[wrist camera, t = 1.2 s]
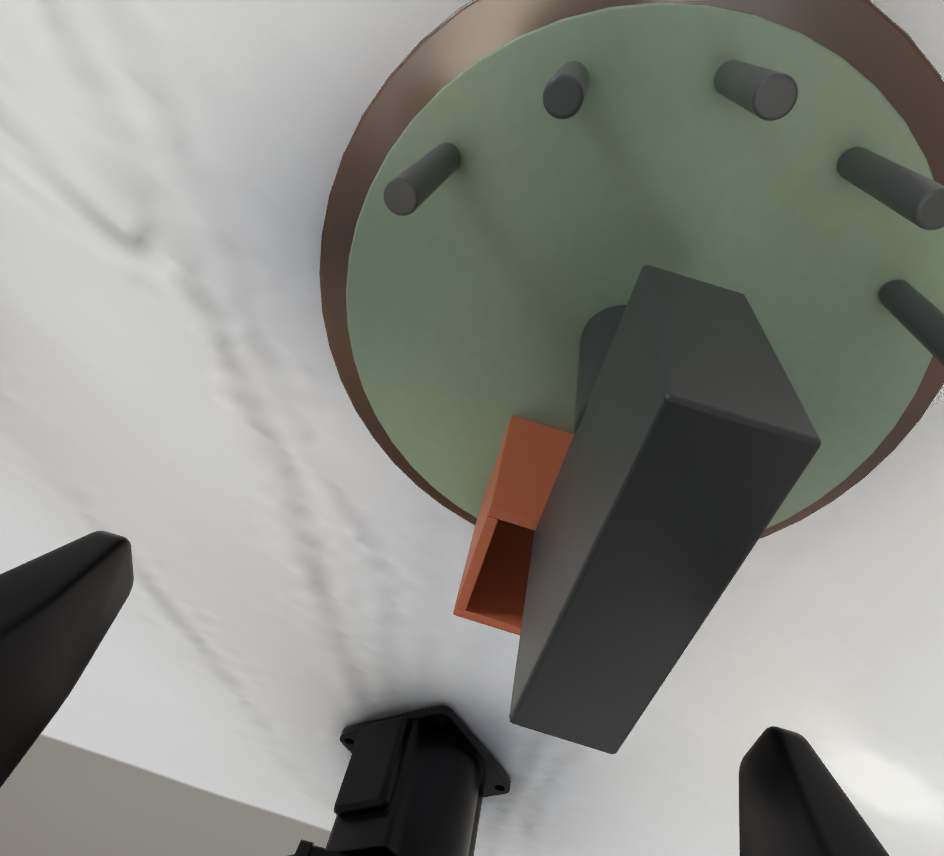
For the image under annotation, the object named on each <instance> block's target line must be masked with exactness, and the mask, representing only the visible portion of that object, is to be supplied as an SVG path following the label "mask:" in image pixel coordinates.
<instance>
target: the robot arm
mask: <svg viewBox="0 0 944 856" xmlns="http://www.w3.org/2000/svg"><path fill="white" fill-rule="evenodd" d="M133 579H134V576H133V565H132V553H131V544H130V542H129V540H128V539H127V538H125V537H123V536H119V535H116V534H112V533H109V532H105V531H97V532H93V533H90V534H88V535H86V536H84V537H82V538H79V539H77V540H75V541H73V542H71V543H68V544H66V545H64V546H62V547H60V548H58V549H55V550H53V551H51V552H49V553H47V554H44V555H42V556H40V557H38V558H36V559H33V560H31V561H29V562H27V563H25V564H22V565H20V566H18V567H16V568H14V569H11V570H9V571H7V572H5V573H3V574H0V788H1V786H2V785H3V784H4V782H5V781H6V779H7V778H8V777H9V775H10V774H11V773H12V771H13V770H14V769H15V767H16V766H17V765H18V763H19V762H20V761H21V759H22V758H23V756H24V755H25V754H26V753H27V751H28V750H29V749H30V747H31V746H32V745H33V743H34V742H35V741H36V739H37V738H38V736H39V735H40V734H41V732H42V731H43V730H44V728H45V727H46V726H47V724H48V723H49V722H50V720H51V719H52V718H53V716H54V715H55V714H56V712H57V711H58V710H59V708H60V707H61V705H62V704H63V702H64V701H65V700H66V698H67V697H68V695H69V694H70V692H71V691H72V689H73V688H74V686H75V684H76V683H77V681H78V680H79V678H80V676H81V675H82V673H83V671H84V670H85V668H86V666H87V665H88V663H89V661H90V660H91V658H92V656H93V655H94V653H95V651H96V650H97V648H98V646H99V644H100V643H101V641H102V639H103V638H104V636H105V634H106V633H107V631H108V629H109V628H110V626H111V624H112V623H113V621H114V619H115V618H116V616H117V614H118V613H119V611H120V609H121V608H122V606H123V604H124V603H125V601H126V599H127V598H128V596H129V594H130V591H131V589H132V586H133ZM340 741H341V743H342V744H343V745H344V746H345V747H346V748H347V749H348V750H349V751H350V752H351V753H352V756H351V759H350V762H349V765H348V768H347V771H346V774H345V777H344V779H343V782H342V785H341V788H340V791H339V794H338V797H337V800H336V803H335V806H334V812H335V813H336V814H337V816H336V819H335V822H334V825H333V828H332V831H331V834H330V837H329V840H328V843H327V846H326V849H325V848H322V847H318V846H314V843H313V842H309V841H306V840H301V842H300V844H299V846H298V849H297V851H296V853H295V854H294V855H290V856H474V850H475V843H476V837H477V830H478V824H479V818H480V811H481V805H482V798H483V797H489V796H494V795H500V794H505V793H508V792H509V791H510V783H511V780H510V779H509V777H508V776H507V775H506V774H505V773H504V771H503V770H502V769H501V768H500V767H499V765H498V764H497V763H496V762H495V761H494V759H493V758H492V757H491V756H490V755H489V753H488V752H487V751H486V750H485V749H484V747H483V746H482V745H481V744H480V743H479V741H478V740H477V739H476V738H475V737H474V736H473V734H472V733H471V732H470V731H469V730H468V728H467V727H466V726H465V725H464V724H463V722H462V721H461V720H460V719H459V718H458V716H457V715H456V714H455V713H454V712H453V710H452V709H450V708H449V707H447V706H443V705H439V706H434V707H430V708H426V709H422V710H417V711H413V712H409V713H405V714H401V715H397V716H393V717H388V718H384V719H380V720H376V721H372V722H368V723H363V724H359V725H355V726H351V727H347V728H344V729H343V731H342V733H341V736H340ZM739 830H740V856H889V854H888V853H887V852H886V850H885V849H884V847H883V846H882V845H881V843H880V842H879V840H878V839H877V838H876V836H875V835H874V833H873V832H872V831H871V829H870V828H869V826H868V825H867V824H866V822H865V821H864V820H863V818H862V817H861V815H860V814H859V813H858V811H857V810H856V808H855V807H854V806H853V804H852V803H851V801H850V800H849V799H848V797H847V796H846V794H845V793H844V792H843V790H842V789H841V787H840V786H839V785H838V783H837V782H836V780H835V779H834V778H833V776H832V775H831V773H830V772H829V771H828V769H827V768H826V766H825V765H824V764H823V762H822V761H821V759H820V758H819V757H818V755H817V754H816V752H815V751H814V750H813V748H812V747H811V745H810V744H809V743H808V741H807V740H806V739H805V738H804V737H803V736H802V735H800V734H798V733H796V732H792V731H789V730H786V729H782V728H779V727H774V726H772V727H769V728H767V729H766V730H765V731H764V732H763V733H762V735H761V736H760V737H759V738H758V740H757V741H756V742H755V743H754V745H753V746H752V747H751V748H750V750H749V751H748V752H747V753H746V754H745V756H744V757H743V759H742V762H741V765H740V769H739Z"/></svg>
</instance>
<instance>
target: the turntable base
mask: <svg viewBox="0 0 944 856" xmlns="http://www.w3.org/2000/svg"><path fill="white" fill-rule="evenodd" d="M648 3H676V4H694V5H709V6H714V7H718V8H723V9H728V10H732V11H737V12H742V13H746V14H751V15H756V16H758V17H761V18H764V19H766V20H769V21H771V22H774V23H776V24H779V25H781V26H784V27H787V28H789V29H792V30H794V31H797V32H799V33H802V34H803V35H805V36H807V37H808V38H810V39H812V40H813V41H815V42H817V43H818V44H820V45H822V46H823V47H825V48H827V49H828V50H830V51H832V52H834V53H835V54H837V55H839V56H840V57H842V58H843V59H844V60H845V61H846V62H848V63H849V64H850V65H851V66H852V67H853V68H855V69H856V70H857V71H858V72H859V73H861V74H862V75H863V76H864V77H865V78H866V79H868V80H869V81H870V82H871V83H872V84H873V85H875V86H876V87H877V88H878V90H879V91H880V92H881V93H882V94H883V96H884V97H885V98H886V99H887V100H888V102H889V103H890V104H891V105H892V107H893V108H894V109H895V110H896V111H897V113H898V114H899V115H900V116H901V117H902V119H903V120H904V121H905V122H906V124H907V126H908V128H909V130H910V131H911V133H912V135H913V137H914V138H915V140H916V142H917V144H918V145H919V147H920V149H921V151H922V152H923V154H924V156H925V158H926V159H927V162H928V165H929V168H930V170H931V173H932V176H933V179H934V181H935V182H937V183H939V184H941V185H943V186H944V82H943V80H942V78H941V76H940V74H939V73H938V72H937V71H936V69H935V68H934V67H933V65H932V64H931V63H930V62H929V60H928V59H927V58H926V57H925V55H924V54H923V53H922V52H921V50H920V49H919V48H918V47H917V45H916V44H915V43H914V41H913V40H912V39H911V38H910V36H909V35H908V34H907V33H906V32H905V31H904V30H902V29H901V28H900V27H899V26H898V25H897V24H896V23H894V22H893V21H892V20H891V19H890V18H889V17H888V16H887V15H885V14H884V13H883V12H882V11H881V10H880V9H879V8H877V7H876V6H875V5H874V4H873V3H872V2H871V1H870V0H472V1H471V2H469V3H467V4H466V5H464V6H463V7H461V8H459V9H458V10H457V11H456V12H455V13H453V14H452V15H451V16H450V17H449V18H448V19H446V20H445V21H444V22H443V23H442V24H440V25H439V26H438V27H437V28H436V29H434V30H433V31H432V32H431V33H430V34H428V35H427V36H426V37H425V38H424V39H422V40H421V41H420V42H419V44H418V45H417V46H416V47H415V48H414V49H413V50H412V51H411V52H410V54H409V55H408V56H407V57H406V58H405V59H404V60H403V61H402V62H401V64H400V65H399V66H398V67H397V68H396V69H395V70H394V71H393V72H392V74H391V75H390V76H389V77H388V78H387V80H386V81H385V83H384V84H383V86H382V87H381V89H380V90H379V92H378V93H377V95H376V96H375V98H374V99H373V100H372V102H371V103H370V105H369V106H368V108H367V109H366V111H365V112H364V114H363V115H362V117H361V119H360V121H359V123H358V125H357V127H356V129H355V131H354V133H353V135H352V138H351V140H350V142H349V144H348V146H347V148H346V150H345V152H344V154H343V156H342V159H341V162H340V165H339V168H338V171H337V174H336V177H335V180H334V183H333V186H332V189H331V192H330V195H329V200H328V205H327V210H326V215H325V221H324V226H323V231H322V240H321V257H320V286H321V300H322V312H323V317H324V322H325V327H326V331H327V336H328V341H329V346H330V349H331V352H332V355H333V358H334V361H335V364H336V367H337V370H338V373H339V376H340V379H341V381H342V383H343V385H344V387H345V389H346V391H347V393H348V395H349V398H350V400H351V402H352V404H353V406H354V408H355V410H356V411H357V413H358V415H359V416H360V418H361V419H362V421H363V422H364V424H365V426H366V427H367V429H368V430H369V432H370V433H371V435H372V436H373V438H374V439H375V440H376V442H377V443H378V444H379V445H380V447H381V448H382V449H383V450H384V451H385V453H386V454H387V455H388V456H389V458H390V459H391V460H392V461H393V462H394V464H395V465H396V466H398V467H399V468H400V469H401V470H402V471H403V472H404V473H405V474H406V475H407V476H408V477H409V478H410V479H411V480H412V481H413V482H414V483H415V484H416V485H417V486H418V487H420V488H421V489H422V490H423V491H425V492H426V493H427V494H429V495H430V496H431V497H432V498H434V499H435V500H436V501H438V502H439V503H440V504H441V505H443V506H444V507H446V508H447V509H449V510H451V511H452V512H454V513H456V514H457V515H459V516H460V517H462V518H464V519H465V520H467V521H468V522H470V523H472V524H474V525H476V521H477V518H476V517H474V516H473V515H471V514H469V513H468V512H466V511H464V510H463V509H461V508H460V507H458V506H456V505H455V504H454V503H453V502H451V501H450V500H449V499H448V498H446V497H445V496H444V495H442V494H441V493H440V492H439V491H437V490H436V489H435V488H433V487H432V486H431V485H430V484H429V483H428V482H427V481H426V480H425V479H424V478H423V477H422V476H421V475H420V474H419V473H418V472H417V471H416V470H415V469H414V468H413V467H412V466H411V465H410V463H409V462H408V461H407V460H406V459H405V457H404V456H403V455H402V454H401V452H400V451H399V450H398V449H397V447H396V446H395V445H394V444H393V442H392V441H391V439H390V438H389V436H388V434H387V433H386V431H385V430H384V428H383V426H382V425H381V423H380V422H379V420H378V418H377V417H376V415H375V413H374V410H373V408H372V406H371V404H370V402H369V400H368V398H367V395H366V393H365V391H364V389H363V386H362V383H361V380H360V377H359V374H358V370H357V367H356V364H355V361H354V357H353V352H352V347H351V341H350V336H349V331H348V321H347V302H346V287H347V275H348V263H349V255H350V251H351V246H352V242H353V237H354V233H355V228H356V224H357V221H358V218H359V215H360V213H361V210H362V207H363V204H364V202H365V199H366V196H367V194H368V191H369V188H370V186H371V184H372V182H373V180H374V179H375V177H376V175H377V173H378V171H379V169H380V167H381V165H382V164H383V162H384V160H385V158H386V156H387V154H388V152H389V151H390V150H391V148H392V147H393V146H394V144H395V143H396V141H397V140H398V139H399V137H400V136H401V134H402V133H403V132H404V130H405V129H406V128H407V126H408V125H409V123H410V122H411V121H412V119H413V118H414V117H415V116H416V115H417V114H418V113H419V112H420V111H421V110H422V109H423V108H424V107H425V106H426V105H427V104H428V103H429V102H430V101H431V100H432V98H433V97H434V96H435V95H436V94H437V93H438V92H439V91H440V90H441V89H442V88H443V87H445V86H446V85H447V84H448V83H450V82H451V81H452V80H453V79H455V78H456V77H457V76H458V75H460V74H461V73H462V72H464V71H465V70H466V69H467V68H469V67H470V66H471V65H472V64H474V63H475V62H476V61H478V60H479V59H481V58H483V57H484V56H486V55H488V54H489V53H491V52H493V51H495V50H496V49H498V48H500V47H501V46H503V45H505V44H507V43H508V42H510V41H512V40H514V39H515V38H517V37H519V36H521V35H524V34H526V33H529V32H531V31H534V30H536V29H539V28H541V27H544V26H546V25H549V24H551V23H553V22H556V21H558V20H561V19H564V18H568V17H572V16H576V15H580V14H584V13H588V12H592V11H596V10H600V9H604V8H608V7H617V6H628V5H638V4H648ZM943 384H944V366H943V365H942V364H941V363H940V362H939V361H938V360H937V359H936V358H935V357H934V356H932V359H931V361H930V363H929V365H928V368H927V370H926V372H925V374H924V376H923V378H922V381H921V383H920V385H919V387H918V389H917V391H916V394H915V395H914V397H913V398H912V400H911V401H910V403H909V405H908V406H907V408H906V409H905V411H904V413H903V414H902V416H901V417H900V419H899V420H898V422H897V424H896V425H895V426H894V428H893V429H892V430H891V431H890V433H889V434H888V435H887V436H886V437H885V439H884V440H883V441H882V442H881V443H880V445H879V446H878V447H877V448H876V450H875V451H874V452H873V453H872V454H871V455H870V456H869V457H868V458H867V459H866V460H865V461H864V462H863V463H862V464H861V465H860V466H859V467H858V468H857V469H856V470H855V471H854V472H852V473H851V474H850V475H849V476H848V477H847V478H846V479H845V480H844V481H843V482H841V483H840V484H839V485H837V486H836V487H835V488H833V489H832V490H831V491H829V492H828V493H827V494H825V495H824V496H823V497H821V498H820V499H819V500H818V501H816V502H814V503H813V504H811V505H809V506H808V507H806V508H804V509H803V510H801V511H799V512H798V513H796V514H794V515H793V516H791V517H789V518H788V519H786V520H784V521H782V522H780V523H777V524H775V525H773V526H771V527H769V528H767V529H765V530H764V532H763V533H762V535H761V536H760V538H763V537H765V536H768V535H770V534H772V533H774V532H776V531H779V530H781V529H783V528H785V527H787V526H789V525H792V524H794V523H796V522H798V521H800V520H802V519H804V518H805V517H807V516H809V515H810V514H812V513H814V512H815V511H817V510H819V509H820V508H822V507H824V506H826V505H827V504H829V503H831V502H832V501H834V500H835V499H836V498H838V497H839V496H841V495H842V494H843V493H845V492H846V491H847V490H849V489H850V488H851V487H853V486H854V485H855V484H857V483H858V482H859V481H861V480H862V479H863V478H865V477H866V476H867V475H868V474H869V473H870V472H871V471H872V470H873V469H874V468H875V467H876V466H877V465H878V464H880V463H881V462H882V461H883V460H884V459H885V458H886V457H887V456H888V455H889V454H890V453H891V452H892V451H893V450H894V449H895V448H896V447H897V446H898V445H899V444H900V442H901V441H902V440H903V439H904V438H905V436H906V435H907V434H908V433H909V432H910V431H911V429H912V428H913V427H914V426H915V425H916V423H917V422H918V421H919V420H920V419H921V417H922V416H923V414H924V413H925V411H926V410H927V408H928V407H929V405H930V404H931V402H932V401H933V399H934V397H935V396H936V394H937V393H938V391H939V390H940V388H941V387H942V385H943ZM760 538H759V539H760Z"/></svg>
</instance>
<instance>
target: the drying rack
mask: <svg viewBox="0 0 944 856" xmlns="http://www.w3.org/2000/svg"><path fill="white" fill-rule="evenodd" d="M346 302H347V321H348V331H349V336H350V341H351V347H352V352H353V357H354V361H355V364H356V367H357V370H358V374H359V377H360V380H361V383H362V386H363V389H364V391H365V393H366V395H367V398H368V400H369V402H370V404H371V406H372V408H373V410H374V413H375V415H376V417H377V418H378V420H379V422H380V423H381V425H382V426H383V428H384V430H385V431H386V433H387V434H388V436H389V438H390V439H391V441H392V442H393V444H394V445H395V446H396V447H397V449H398V450H399V451H400V452H401V454H402V455H403V456H404V457H405V459H406V460H407V461H408V462H409V463H410V465H411V466H412V467H413V468H414V469H415V470H416V471H417V472H418V473H419V474H420V475H421V476H422V477H423V478H424V479H425V480H426V481H427V482H428V483H429V484H430V485H431V486H432V487H433V488H435V489H436V490H437V491H439V492H440V493H441V494H442V495H444V496H445V497H446V498H448V499H449V500H450V501H451V502H453V503H454V504H455V505H456V506H458V507H460V508H461V509H463V510H464V511H466V512H468V513H469V514H471V515H473V516H474V517H476V518H477V521H476V525H475V529H474V533H473V537H472V541H471V545H470V549H469V553H468V557H467V561H466V565H465V569H464V572H463V576H462V580H461V584H460V588H459V592H458V596H457V600H456V604H455V608H454V612H453V614H454V615H456V616H459V617H463V618H466V619H469V620H472V621H476V622H479V623H482V624H485V625H488V626H492V627H495V628H498V629H501V630H505V631H508V632H511V633H514V634H517V635H520V641H519V649H518V656H517V663H516V671H515V678H514V686H513V693H512V700H511V708H510V715H509V718H510V722H512V723H513V724H516V725H520V726H523V727H526V728H529V729H533V730H536V731H539V732H542V733H545V734H549V735H552V736H555V737H558V738H561V739H565V740H568V741H571V742H574V743H577V744H581V745H584V746H587V747H590V748H594V749H597V750H600V751H603V752H606V753H610V754H615V753H617V751H618V749H619V748H620V746H621V745H622V743H623V742H624V740H625V739H626V737H627V736H628V734H629V733H630V731H631V730H632V728H633V727H634V725H635V724H636V722H637V721H638V719H639V718H640V716H641V715H642V713H643V712H644V710H645V709H646V707H647V706H648V704H649V703H650V701H651V700H652V698H653V697H654V695H655V694H656V692H657V691H658V689H659V688H660V686H661V685H662V683H663V682H664V680H665V679H666V677H667V676H668V674H669V673H670V671H671V670H672V668H673V667H674V665H675V664H676V662H677V661H678V659H679V658H680V656H681V655H682V653H683V652H684V650H685V649H686V647H687V646H688V644H689V643H690V641H691V640H692V638H693V637H694V635H695V634H696V632H697V631H698V629H699V628H700V626H701V625H702V623H703V622H704V620H705V619H706V617H707V616H708V614H709V613H710V611H711V610H712V608H713V607H714V605H715V604H716V602H717V601H718V599H719V598H720V596H721V595H722V593H723V592H724V590H725V589H726V587H727V586H728V584H729V583H730V581H731V580H732V578H733V577H734V575H735V574H736V572H737V571H738V569H739V568H740V566H741V565H742V563H743V562H744V560H745V559H746V557H747V556H748V554H749V553H750V551H751V550H752V548H753V547H754V545H755V544H756V542H757V541H758V539H759V538H760V536H761V535H762V533H763V532H764V530H765V529H767V528H769V527H771V526H773V525H775V524H777V523H780V522H782V521H784V520H786V519H788V518H789V517H791V516H793V515H794V514H796V513H798V512H799V511H801V510H803V509H804V508H806V507H808V506H809V505H811V504H813V503H814V502H816V501H818V500H819V499H820V498H821V497H823V496H824V495H825V494H827V493H828V492H829V491H831V490H832V489H833V488H835V487H836V486H837V485H839V484H840V483H841V482H843V481H844V480H845V479H846V478H847V477H848V476H849V475H850V474H851V473H852V472H854V471H855V470H856V469H857V468H858V467H859V466H860V465H861V464H862V463H863V462H864V461H865V460H866V459H867V458H868V457H869V456H870V455H871V454H872V453H873V452H874V451H875V450H876V448H877V447H878V446H879V445H880V443H881V442H882V441H883V440H884V439H885V437H886V436H887V435H888V434H889V433H890V431H891V430H892V429H893V428H894V426H895V425H896V424H897V422H898V420H899V419H900V417H901V416H902V414H903V413H904V411H905V409H906V408H907V406H908V405H909V403H910V401H911V400H912V398H913V397H914V395H915V394H916V391H917V389H918V387H919V385H920V383H921V381H922V378H923V376H924V374H925V372H926V370H927V368H928V365H929V363H930V361H931V359H932V356H934V357H935V358H936V359H937V360H938V361H939V362H940V363H941V364H942V365H943V366H944V186H943V185H941V184H939V183H937V182H935V181H934V179H933V176H932V173H931V170H930V168H929V165H928V162H927V159H926V158H925V156H924V154H923V152H922V151H921V149H920V147H919V145H918V144H917V142H916V140H915V138H914V137H913V135H912V133H911V131H910V130H909V128H908V126H907V124H906V122H905V121H904V120H903V119H902V117H901V116H900V115H899V114H898V113H897V111H896V110H895V109H894V108H893V107H892V105H891V104H890V103H889V102H888V100H887V99H886V98H885V97H884V96H883V94H882V93H881V92H880V91H879V90H878V88H877V87H876V86H875V85H873V84H872V83H871V82H870V81H869V80H868V79H866V78H865V77H864V76H863V75H862V74H861V73H859V72H858V71H857V70H856V69H855V68H853V67H852V66H851V65H850V64H849V63H848V62H846V61H845V60H844V59H843V58H842V57H840V56H839V55H837V54H835V53H834V52H832V51H830V50H828V49H827V48H825V47H823V46H822V45H820V44H818V43H817V42H815V41H813V40H812V39H810V38H808V37H807V36H805V35H803V34H802V33H799V32H797V31H794V30H792V29H789V28H787V27H784V26H781V25H779V24H776V23H774V22H771V21H769V20H766V19H764V18H761V17H758V16H756V15H751V14H746V13H742V12H737V11H732V10H728V9H723V8H718V7H714V6H709V5H694V4H676V3H648V4H638V5H628V6H617V7H608V8H604V9H600V10H596V11H592V12H588V13H584V14H580V15H576V16H572V17H568V18H564V19H561V20H558V21H556V22H553V23H551V24H549V25H546V26H544V27H541V28H539V29H536V30H534V31H531V32H529V33H526V34H524V35H521V36H519V37H517V38H515V39H514V40H512V41H510V42H508V43H507V44H505V45H503V46H501V47H500V48H498V49H496V50H495V51H493V52H491V53H489V54H488V55H486V56H484V57H483V58H481V59H479V60H478V61H476V62H475V63H474V64H472V65H471V66H470V67H469V68H467V69H466V70H465V71H464V72H462V73H461V74H460V75H458V76H457V77H456V78H455V79H453V80H452V81H451V82H450V83H448V84H447V85H446V86H445V87H443V88H442V89H441V90H440V91H439V92H438V93H437V94H436V95H435V96H434V97H433V98H432V100H431V101H430V102H429V103H428V104H427V105H426V106H425V107H424V108H423V109H422V110H421V111H420V112H419V113H418V114H417V115H416V116H415V117H414V118H413V119H412V121H411V122H410V123H409V125H408V126H407V128H406V129H405V130H404V132H403V133H402V134H401V136H400V137H399V139H398V140H397V141H396V143H395V144H394V146H393V147H392V148H391V150H390V151H389V152H388V154H387V156H386V158H385V160H384V162H383V164H382V165H381V167H380V169H379V171H378V173H377V175H376V177H375V179H374V180H373V182H372V184H371V186H370V188H369V191H368V194H367V196H366V199H365V202H364V204H363V207H362V210H361V213H360V215H359V218H358V221H357V224H356V228H355V233H354V237H353V242H352V246H351V251H350V255H349V263H348V275H347V287H346Z"/></svg>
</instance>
